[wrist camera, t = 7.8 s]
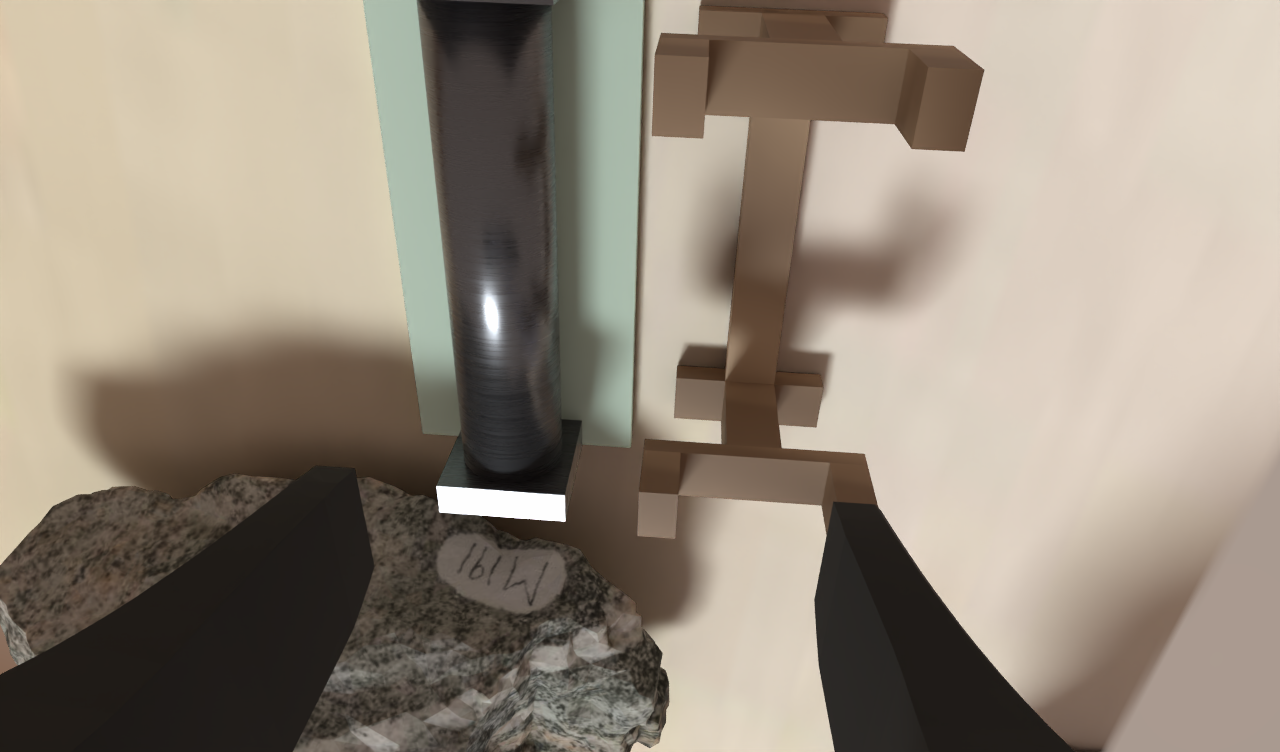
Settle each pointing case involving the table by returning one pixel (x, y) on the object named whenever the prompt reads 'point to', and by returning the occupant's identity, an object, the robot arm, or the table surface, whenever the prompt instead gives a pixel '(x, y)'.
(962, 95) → the rail stand
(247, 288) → the table surface
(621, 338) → the mat
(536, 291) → the column with square cap
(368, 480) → the rock
